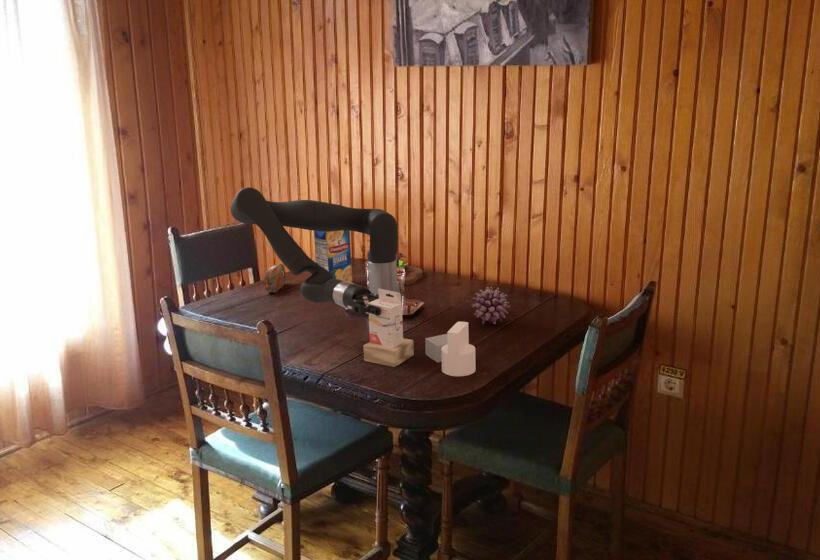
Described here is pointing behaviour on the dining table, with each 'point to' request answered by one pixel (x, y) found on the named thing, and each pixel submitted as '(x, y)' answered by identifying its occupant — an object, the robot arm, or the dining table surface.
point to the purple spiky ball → (490, 305)
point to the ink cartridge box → (387, 320)
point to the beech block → (388, 353)
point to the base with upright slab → (458, 352)
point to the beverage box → (334, 253)
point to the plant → (409, 270)
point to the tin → (274, 278)
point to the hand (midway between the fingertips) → (390, 308)
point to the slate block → (435, 346)
